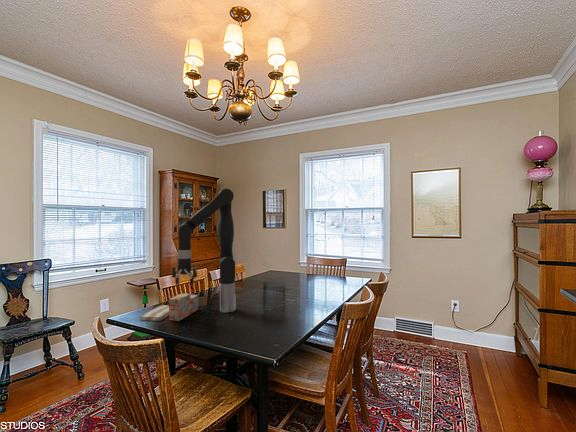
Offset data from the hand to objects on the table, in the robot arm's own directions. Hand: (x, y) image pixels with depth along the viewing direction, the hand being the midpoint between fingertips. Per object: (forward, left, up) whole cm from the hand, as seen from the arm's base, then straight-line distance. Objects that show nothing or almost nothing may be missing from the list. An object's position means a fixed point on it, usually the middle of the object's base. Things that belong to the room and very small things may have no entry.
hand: (184, 284), depth 176 cm
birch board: (+15, 0, -18) cm, 23 cm away
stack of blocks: (0, 0, -18) cm, 18 cm away
